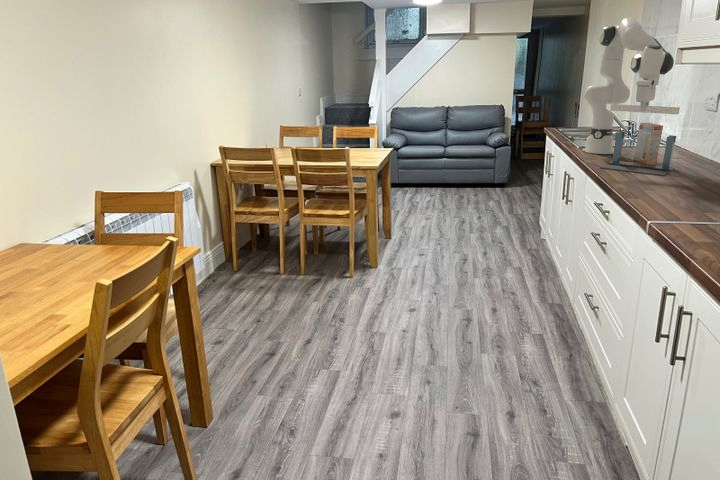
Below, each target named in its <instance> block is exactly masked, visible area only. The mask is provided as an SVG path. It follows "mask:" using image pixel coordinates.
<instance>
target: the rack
mask: <svg viewBox="0 0 720 480" xmlns="http://www.w3.org/2000/svg"><path fill="white" fill-rule="evenodd" d="M625 135H626V131H623V130H622V131H620V130H619V131H616V132H615V135H614V153H613V154H612V160H610V161H608V162H607V163H606V164H607V165H616V166H624V167H632V168H641V169H649V170H658V171H666V172H669V173H671V172H673V171H674V170H675V167H674V166H671V165H672V164H671V163H672V158H673V155H674V154H673V153H674V149H675V144H676V140H677V135H671V134H670V135H669V136H666V141H665V148H664V155H663V161H662V164H661V165H659V164H658V165H657V164H656V165H649V164H642V163H639V162H629V161H622V160H621V156H622V149H623V143H624V140H625Z"/></svg>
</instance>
